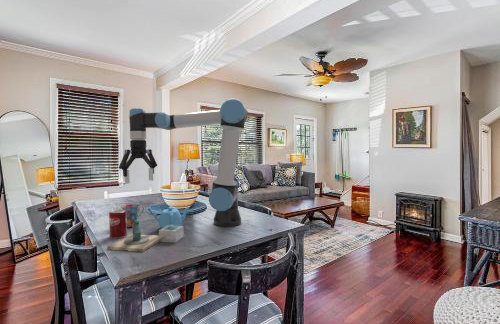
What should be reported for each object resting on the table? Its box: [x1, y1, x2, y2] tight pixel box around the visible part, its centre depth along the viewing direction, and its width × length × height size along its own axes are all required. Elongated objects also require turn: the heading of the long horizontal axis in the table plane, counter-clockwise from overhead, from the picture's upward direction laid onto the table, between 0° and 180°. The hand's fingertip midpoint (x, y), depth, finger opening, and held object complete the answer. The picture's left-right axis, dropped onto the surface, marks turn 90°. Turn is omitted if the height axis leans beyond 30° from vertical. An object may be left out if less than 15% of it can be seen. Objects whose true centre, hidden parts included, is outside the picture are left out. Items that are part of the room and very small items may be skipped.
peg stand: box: [107, 219, 159, 253], centre depth 115 cm, size 16×16×10 cm
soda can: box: [108, 208, 128, 240], centre depth 125 cm, size 7×7×12 cm
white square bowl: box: [158, 225, 185, 243], centre depth 121 cm, size 8×8×5 cm
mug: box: [121, 203, 145, 228], centre depth 143 cm, size 12×9×11 cm
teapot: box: [153, 206, 190, 229], centre depth 137 cm, size 13×14×11 cm
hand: (139, 181), depth 137 cm, fingers open, 13 cm apart
